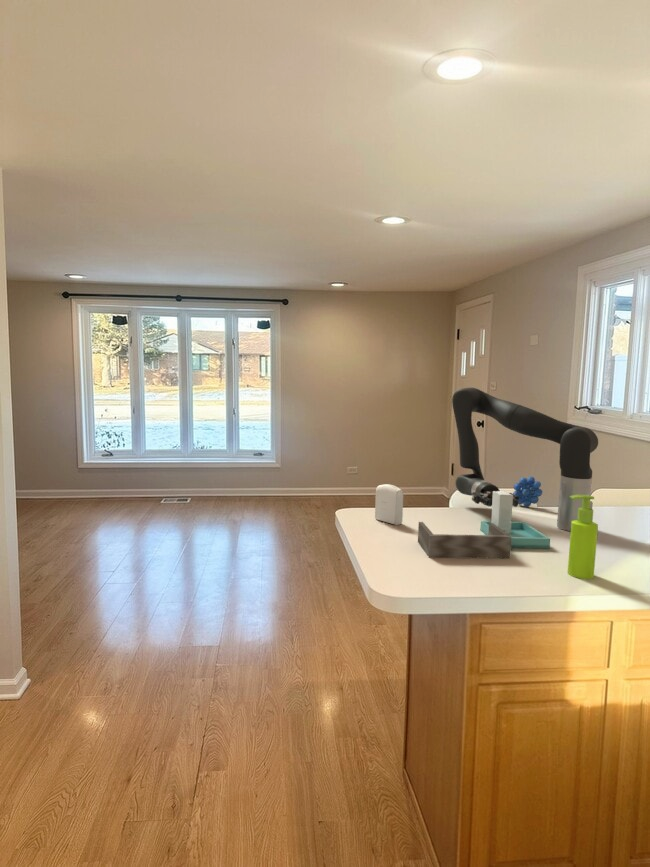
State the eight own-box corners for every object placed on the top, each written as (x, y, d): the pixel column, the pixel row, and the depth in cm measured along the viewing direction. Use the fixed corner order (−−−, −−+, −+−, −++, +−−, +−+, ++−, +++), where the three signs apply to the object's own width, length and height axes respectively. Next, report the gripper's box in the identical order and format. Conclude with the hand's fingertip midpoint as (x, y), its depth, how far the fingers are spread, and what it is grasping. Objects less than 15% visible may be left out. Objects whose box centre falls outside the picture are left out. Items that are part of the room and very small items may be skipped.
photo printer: (372, 519, 180) (374, 483, 179) (381, 517, 183) (383, 481, 182) (395, 526, 172) (396, 488, 171) (404, 524, 175) (405, 486, 174)
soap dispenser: (559, 570, 135) (564, 492, 133) (585, 570, 136) (591, 493, 134) (571, 579, 130) (578, 498, 128) (598, 578, 130) (605, 498, 128)
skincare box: (511, 534, 163) (514, 495, 162) (497, 533, 163) (500, 494, 162) (503, 528, 169) (506, 490, 168) (489, 528, 169) (492, 490, 168)
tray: (523, 531, 171) (524, 521, 170) (549, 548, 153) (550, 538, 153) (480, 530, 170) (480, 521, 170) (501, 548, 152) (502, 538, 152)
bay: (491, 542, 157) (493, 523, 156) (509, 558, 144) (511, 536, 143) (417, 541, 156) (418, 521, 155) (428, 557, 142) (430, 535, 142)
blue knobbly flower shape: (546, 508, 203) (548, 477, 202) (537, 510, 199) (540, 479, 198) (517, 502, 212) (519, 472, 211) (508, 504, 207) (510, 474, 206)
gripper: (465, 481, 185) (481, 491, 169) (506, 482, 186) (525, 492, 170) (464, 502, 186) (480, 514, 170) (504, 503, 187) (524, 515, 171)
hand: (503, 503), depth 170 cm, fingers open, 8 cm apart
